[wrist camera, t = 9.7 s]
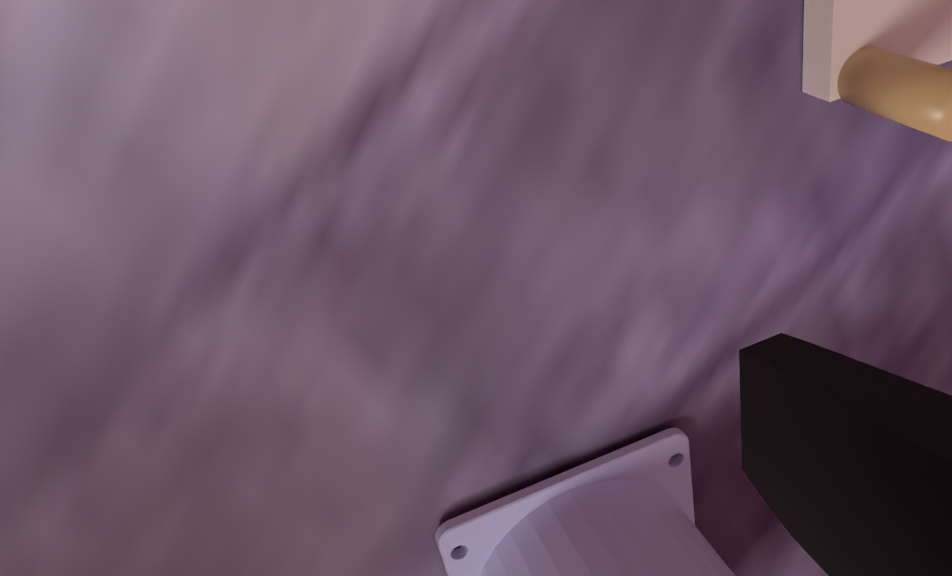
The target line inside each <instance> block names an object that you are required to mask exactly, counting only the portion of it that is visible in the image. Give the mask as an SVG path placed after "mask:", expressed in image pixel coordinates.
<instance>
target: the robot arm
mask: <svg viewBox="0 0 952 576" xmlns="http://www.w3.org/2000/svg"><path fill="white" fill-rule="evenodd" d="M739 361H740V399H741V437H742V469H743V471H744V472H745V473H746V475H747V476H748V478H749V479H750V480H751V482H752V483H753V485H754V486H755V487H756V489H757V490H758V492H759V493H760V494H761V496H762V497H763V499H764V500H765V501H766V503H767V504H768V506H769V507H770V508H771V509H772V511H773V512H774V513H775V515H776V516H777V517H778V519H779V520H780V521H781V523H782V524H783V525H784V527H785V528H786V529H787V530H788V532H789V533H790V534H791V536H792V537H793V538H794V539H795V540H796V541H797V542H798V543H799V544H800V545H801V547H802V548H803V549H804V550H805V551H806V552H807V553H808V554H809V555H810V556H811V557H812V558H813V559H814V561H815V562H816V563H817V564H818V565H819V566H820V567H821V568H822V569H823V570H824V571H825V572H826V573H827V574H828V575H829V576H952V396H951V395H948V394H946V393H943V392H940V391H937V390H935V389H932V388H929V387H926V386H924V385H921V384H918V383H916V382H913V381H910V380H908V379H905V378H902V377H900V376H897V375H894V374H892V373H889V372H886V371H884V370H881V369H878V368H876V367H873V366H871V365H868V364H865V363H863V362H860V361H857V360H855V359H852V358H849V357H847V356H844V355H842V354H839V353H836V352H834V351H831V350H828V349H826V348H823V347H820V346H817V345H815V344H812V343H809V342H806V341H803V340H801V339H798V338H795V337H792V336H789V335H786V334H783V333H780V334H778V335H775V336H773V337H770V338H768V339H765V340H763V341H760V342H758V343H756V344H753V345H751V346H748V347H746V348H743V349H741V350H739ZM673 455H674V456H673ZM672 456H673V457H672ZM435 536H436V542H437V545H438V548H439V551H440V554H441V557H442V560H443V564H444V567H445V570H446V573H447V576H735V575H734V574H733V572H732V571H731V570H730V569H729V567H728V566H727V565H726V564H725V562H724V561H723V560H722V559H721V557H720V556H719V555H718V554H717V552H716V551H715V550H714V549H713V547H712V546H711V545H710V544H709V542H708V541H707V540H706V539H705V538H704V536H703V535H702V534H701V533H700V531H699V530H698V529H697V528H696V526H695V518H694V504H693V490H692V476H691V463H690V449H689V440H688V437H687V436H686V435H685V434H684V432H683V431H682V430H680V429H679V428H674V427H673V428H669V429H666V430H664V431H661V432H659V433H656V434H654V435H652V436H649V437H647V438H644V439H642V440H639V441H637V442H635V443H632V444H630V445H627V446H625V447H623V448H620V449H618V450H615V451H613V452H611V453H608V454H606V455H603V456H601V457H599V458H596V459H594V460H591V461H589V462H587V463H584V464H582V465H579V466H577V467H575V468H572V469H570V470H567V471H565V472H563V473H560V474H558V475H555V476H553V477H551V478H548V479H546V480H543V481H541V482H539V483H536V484H534V485H531V486H529V487H527V488H524V489H522V490H519V491H517V492H515V493H512V494H510V495H507V496H505V497H503V498H500V499H498V500H495V501H493V502H491V503H488V504H486V505H483V506H481V507H479V508H476V509H474V510H471V511H469V512H466V513H464V514H462V515H459V516H457V517H454V518H452V519H450V520H448V521H446V522H444V523H443V524H442V525H441V526H440V527H439V528H438V529H437V531H436V534H435ZM457 546H461V547H459V548H457V549H454V548H456V547H457ZM453 549H454V550H453Z"/></svg>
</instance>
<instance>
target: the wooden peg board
mask: <svg viewBox="0 0 952 576" xmlns="http://www.w3.org/2000/svg"><path fill="white" fill-rule="evenodd" d="M951 60H952V0H804V35H803V84H802V92H804V93H807V94H809V95H812V96H815V97H817V98H820V99H823V100H825V101H828V102H832V101H835V100H838V99H840V98H841V99H842V100H843V101H844V102H846V103H848V104H850V105H853V106H856V107H858V108H861V109H864V110H866V111H869V112H872V113H874V114H877V115H880V116H882V117H885V118H888V119H890V120H893V121H896V122H898V123H901V124H904V125H906V126H909V127H912V128H914V129H917V130H920V131H922V132H925V133H928V134H930V135H933V136H936V137H938V138H941V139H944V140H946V141H952V69H950V68H947V67H943V66H940V65H939V64H942V63H945V62H948V61H951Z"/></svg>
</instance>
